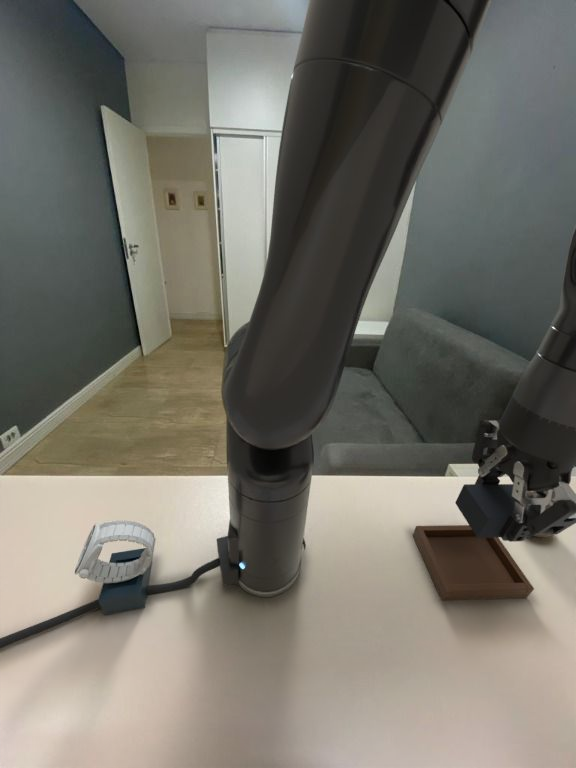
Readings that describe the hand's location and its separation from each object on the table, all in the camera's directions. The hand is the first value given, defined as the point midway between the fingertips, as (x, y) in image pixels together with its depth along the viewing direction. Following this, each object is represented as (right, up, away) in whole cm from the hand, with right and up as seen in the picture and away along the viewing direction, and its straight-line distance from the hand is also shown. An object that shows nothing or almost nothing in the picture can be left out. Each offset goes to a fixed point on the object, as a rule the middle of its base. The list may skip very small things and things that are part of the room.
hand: (493, 516), depth 38 cm
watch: (-45, -9, 0) cm, 46 cm away
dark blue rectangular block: (0, 0, 0) cm, 0 cm away
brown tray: (-1, -9, +5) cm, 10 cm away
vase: (+13, -6, +11) cm, 18 cm away
